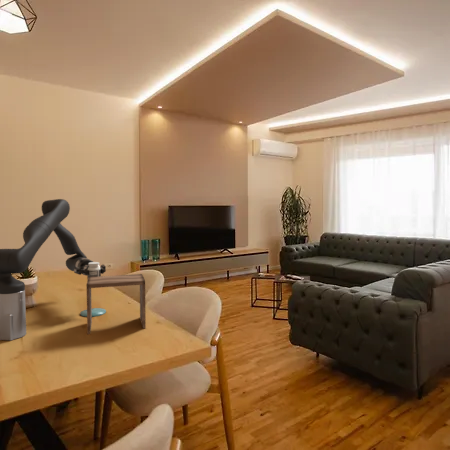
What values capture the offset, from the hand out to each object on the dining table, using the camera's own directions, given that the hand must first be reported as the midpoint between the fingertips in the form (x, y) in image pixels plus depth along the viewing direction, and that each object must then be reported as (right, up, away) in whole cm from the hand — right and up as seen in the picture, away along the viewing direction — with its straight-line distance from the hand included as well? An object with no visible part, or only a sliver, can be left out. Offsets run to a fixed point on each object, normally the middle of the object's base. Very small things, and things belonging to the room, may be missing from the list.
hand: (95, 272), depth 158 cm
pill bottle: (-2, -6, +2) cm, 7 cm away
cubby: (+13, -20, -12) cm, 27 cm away
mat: (-2, -19, +4) cm, 20 cm away
